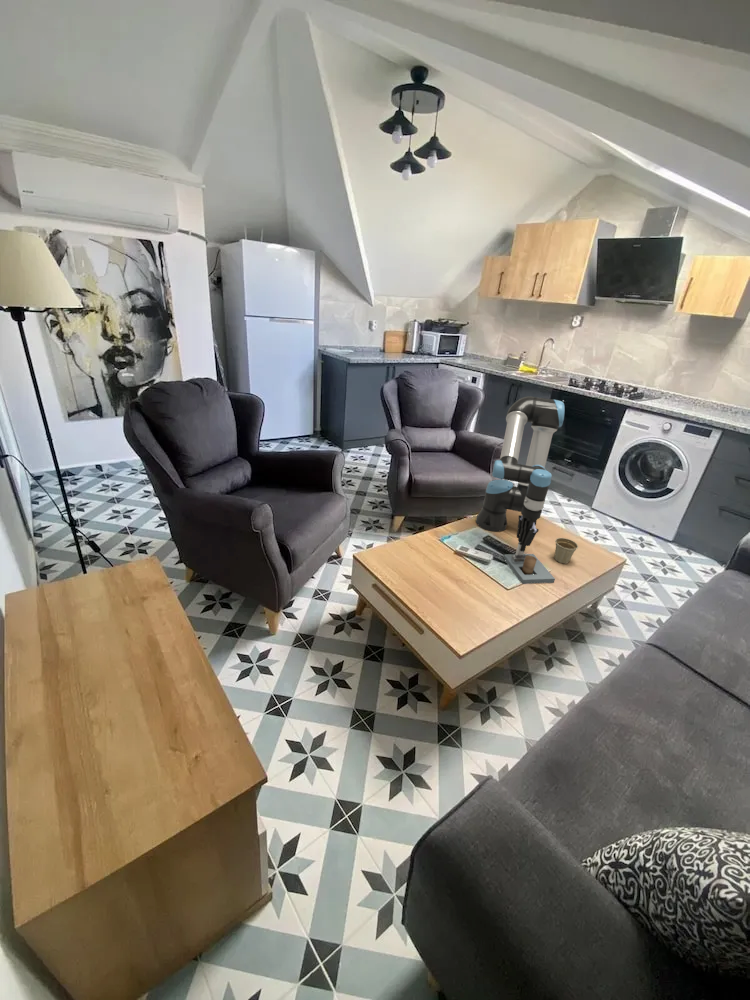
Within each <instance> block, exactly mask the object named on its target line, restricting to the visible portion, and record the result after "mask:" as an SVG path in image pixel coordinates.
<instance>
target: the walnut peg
mask: <svg viewBox="0 0 750 1000" xmlns="http://www.w3.org/2000/svg"><path fill="white" fill-rule="evenodd" d="M537 559H538V558H537ZM537 559H536V558H535V557H533V556H529V555H528V556H526V557H525V560H524V564H523V567H522V570H521V571H522V572H523V573H524V575H533V570H534V567H535V564H536V561H537Z"/></svg>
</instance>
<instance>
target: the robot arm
mask: <svg viewBox="0 0 750 1000" xmlns="http://www.w3.org/2000/svg"><path fill="white" fill-rule="evenodd" d="M564 420H565V403H564V402H563V401H562V400H558V399H554V398H553V399H552V398H543V397H537V396H524V397H520V399H518V400H516V401H515V402H514V403H513V404H512V405H511V406H510V407H509V408H508V411H507V412H506V416H505V422H506V428H505V431H504V432H505V433H504V437H503V441H502V442H503V443H502V447H501V452H500V453H501V454H500V457H499V459H497V460H494V463H493V469H492V473H491V475H492V477H493V478H496V479H494V480H493V479H492V480H491V481H489V482H488V484H487V487H486V489H485V495H484V500H483V502H482V503H483V504H482V508H481V509H480V511H479V512H478V514H477V516H476V519H475V523H476V525H477V526H479V527H480V528H481V529H484V530H486V531H491V532H503V531H505V530H506V529H507V525H508V519H507V510H509V511H514V512H520V514H519V515H518V522H517V531H516V538H517V541H518V543H517V547H516V551H515V553H514V554H515V555H523V554H525V551H526V549H527V546H528V547H529V546H531V544H532V542H533V540H534V539H535V536H536V534H537V533H538V532H539V528H537V527H536V525H537V521H538V520H539V519H540V518H541V516H542V512H543V508H544V505H545V501H546V498H547V494H548V490H549V488H550V485H551V483H552V477H553V475H552V473H551V472H550V471H548V470H547V469H546V464H547V461H548V456H549V452H550V447H551V443H552V438H553V434H554V433H555V432H557V431H558V429H559V428H561V427H562V426H563V424H564ZM527 423H531V425H530V427H531V429H532V430H533V432H532V436H531V440H530V445H529V448H528V454H527V458H526V463H525V464H521V463H520V464H519V457H520V451H521V446H522V440H523V434H524V429H525V425H526V424H527ZM513 482H516V483H517V486H515V485H514V484H513Z"/></svg>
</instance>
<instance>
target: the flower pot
mask: <svg viewBox="0 0 750 1000" xmlns="http://www.w3.org/2000/svg"><path fill="white" fill-rule="evenodd" d="M554 541H555V549H554V560H555V561H556V562H558V563H560V564H568V563H569V562H570V561H571V559H572V558H573V557H572V556H573V555H574V553H575V552H576V550H577V549H578V548H579V545H578V543H577V542H575V541H574V540H572V539H570V538H566V537H558V538H555V540H554Z"/></svg>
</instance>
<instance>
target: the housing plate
mask: <svg viewBox="0 0 750 1000" xmlns="http://www.w3.org/2000/svg"><path fill="white" fill-rule="evenodd" d="M515 554H516V553H513V554H510V553H508V554H507V553H506V554H505V553H504V554H503V557H504V559H505V560H506V561H505V560H504V559H503V560H504V561H505V563H506V562H507V563H508V564H507V563H506V564H507V566H508V565H509V566H510V567H509V566H508V567H509V568H510V570H511V569H512V570H513V571H512V570H511V571H512V572H513V574H514V573H515V574H514V575H515V576H516V578H517V577H518V578H519V579H518V578H517V579H518V580H519V582H520V581H521V582H520V583H521V584H523V585H525V584H530V585H531V584H554V583H555V580H556V578H555V577H554V575H552V574H551V572H550V571H549V570H548V569H547V568H546V566H545V565H544V564H543V563H542V562H541V561H540V559H539V558H538V557H537V556H536V555H535V554H534V553H524V554H523V555H530V556H533V557H535V558H536V559H537V561H536V564H535V567H534V570H533V574H534V575H533V574H532V575H524V573H523V572H522V567H523V564H513V562H512V561H511V557H512V555H515Z"/></svg>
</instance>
